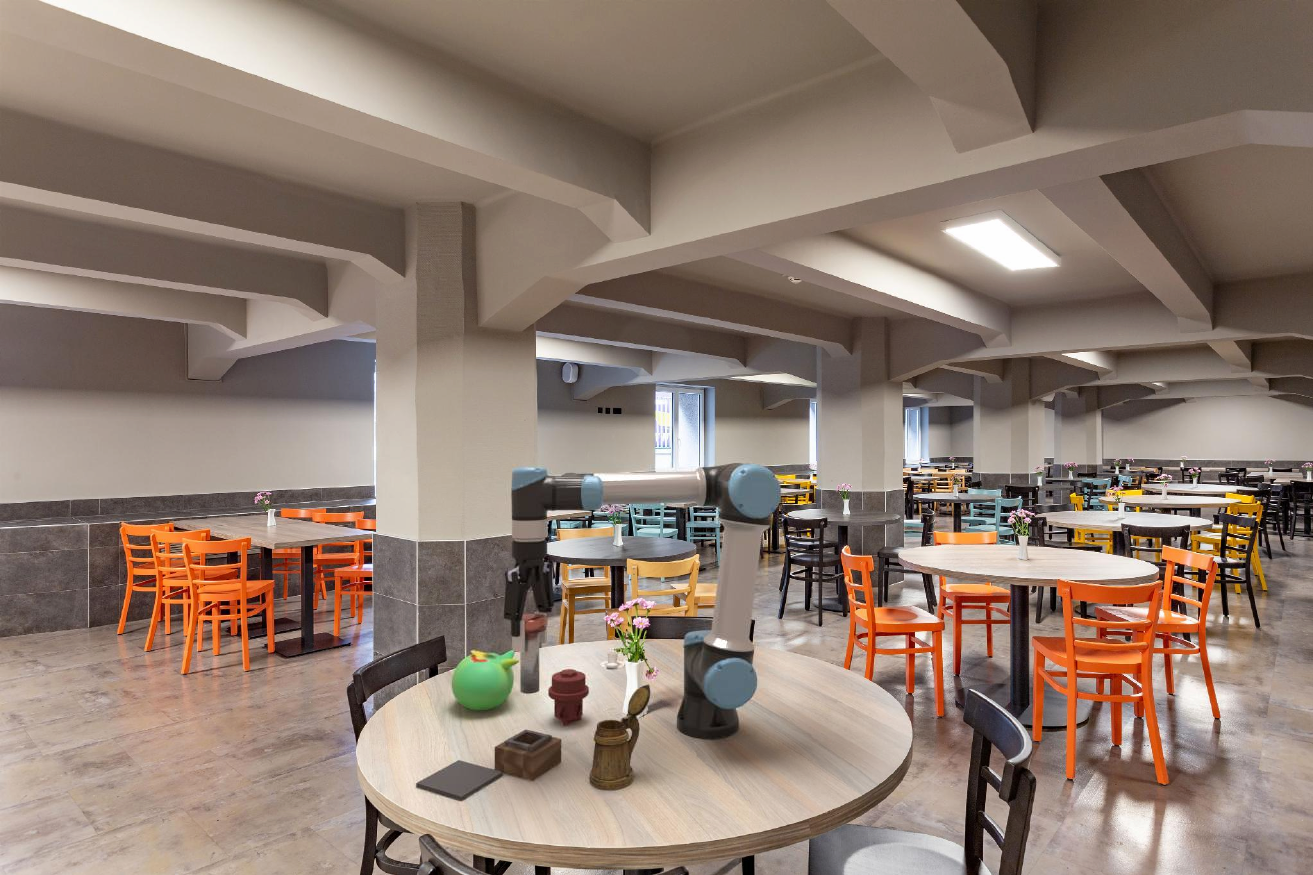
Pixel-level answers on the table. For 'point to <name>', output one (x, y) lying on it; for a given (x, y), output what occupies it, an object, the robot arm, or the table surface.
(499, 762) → the eye block
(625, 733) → the wooden mug
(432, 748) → the table surface
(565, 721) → the mechanical component
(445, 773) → the rubber mat
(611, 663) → the white ring with peg
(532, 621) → the peg
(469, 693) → the toy bird
